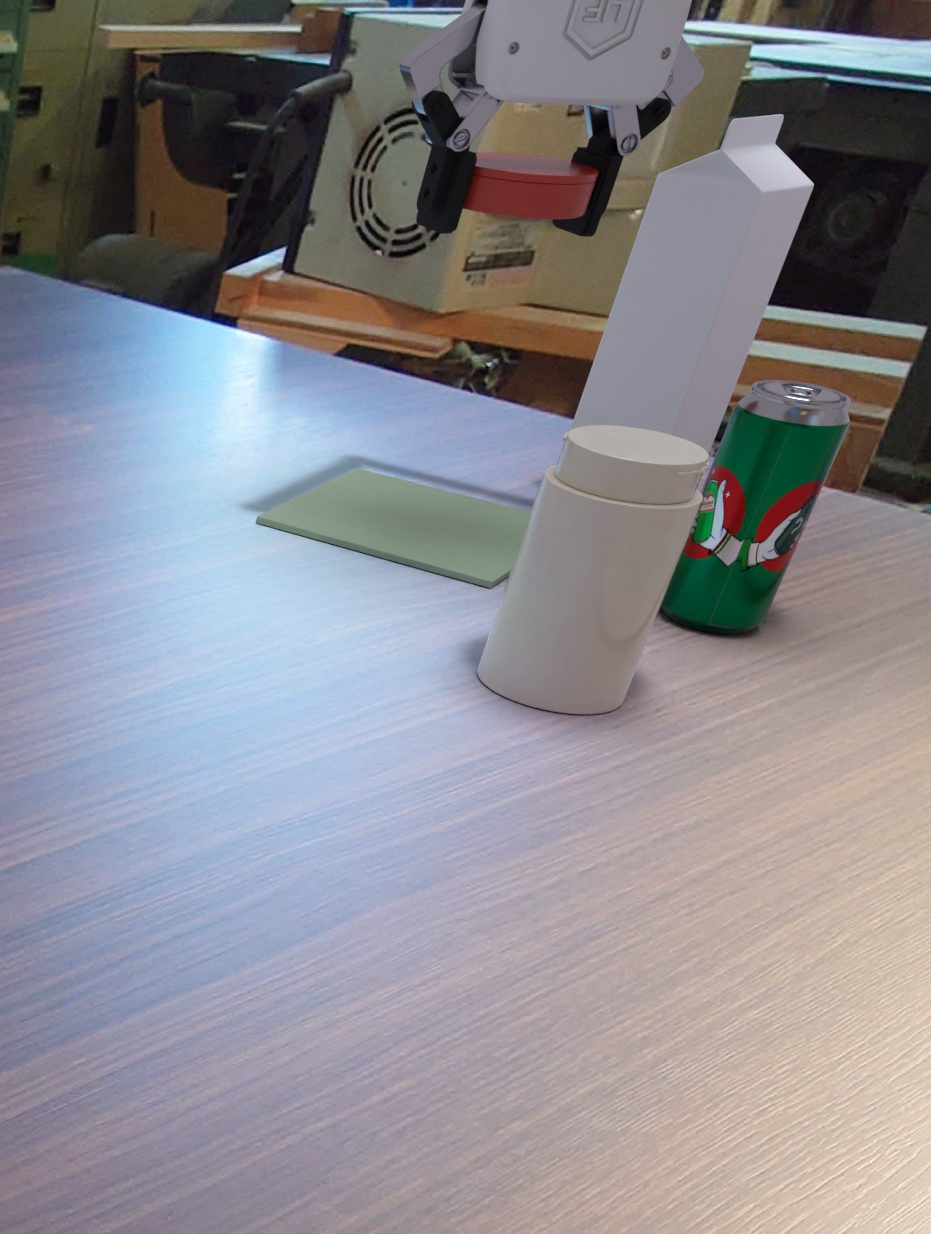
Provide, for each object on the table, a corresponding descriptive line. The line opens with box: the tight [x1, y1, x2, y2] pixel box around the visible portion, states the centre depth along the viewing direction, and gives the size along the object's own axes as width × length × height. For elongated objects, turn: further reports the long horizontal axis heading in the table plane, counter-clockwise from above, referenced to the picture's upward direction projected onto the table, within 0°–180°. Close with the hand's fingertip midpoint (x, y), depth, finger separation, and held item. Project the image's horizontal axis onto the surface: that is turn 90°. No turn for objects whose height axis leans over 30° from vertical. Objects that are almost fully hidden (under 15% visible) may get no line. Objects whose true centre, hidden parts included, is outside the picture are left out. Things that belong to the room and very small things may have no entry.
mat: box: [255, 467, 531, 589], centre depth 101 cm, size 14×14×1 cm
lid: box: [462, 151, 599, 220], centre depth 90 cm, size 7×7×2 cm
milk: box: [569, 113, 815, 455], centre depth 100 cm, size 6×6×22 cm
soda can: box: [661, 379, 852, 635], centre depth 87 cm, size 5×5×12 cm
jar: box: [476, 425, 710, 715], centre depth 79 cm, size 7×7×12 cm
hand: (504, 228), depth 92 cm, fingers closed on lid, 7 cm apart
